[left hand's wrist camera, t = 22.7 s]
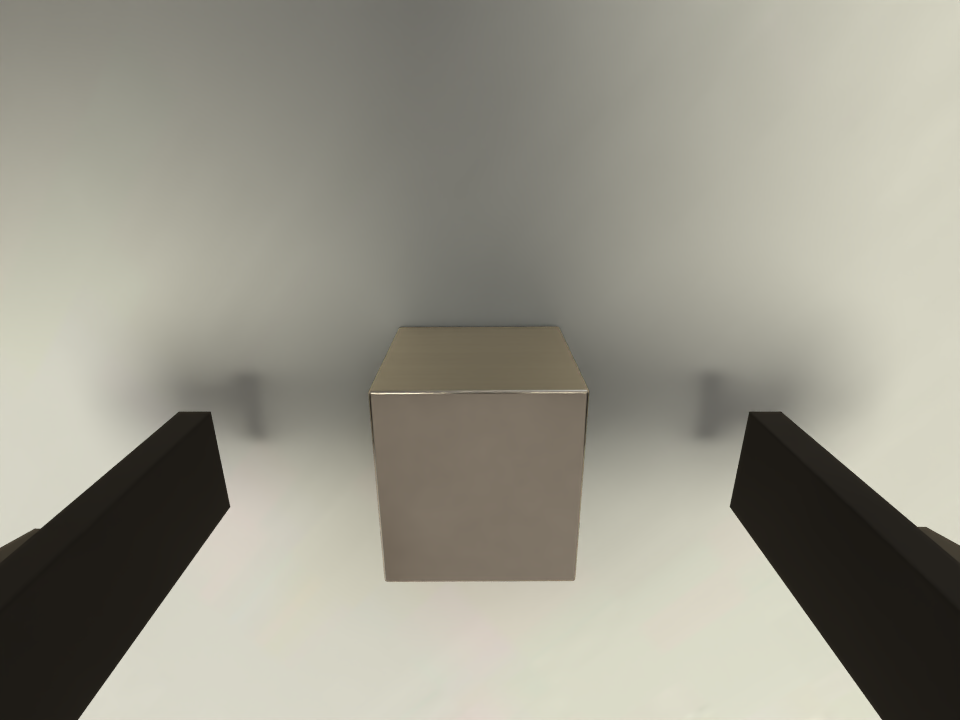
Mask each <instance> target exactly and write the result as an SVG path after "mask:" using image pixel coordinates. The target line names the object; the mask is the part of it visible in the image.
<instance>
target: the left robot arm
mask: <svg viewBox="0 0 960 720" xmlns="http://www.w3.org/2000/svg"><path fill="white" fill-rule="evenodd" d="M229 508H230V504H229V499H228V494H227V489H226V484H225V479H224V474H223V469H222V464H221V460H220V455H219V450H218V445H217V440H216V435H215V430H214V425H213V420H212V416H211V412H178V413H177V414H176V415H175V416H173V417H172V418H171V419H170V420H169V421H168V422H166V423H165V424H164V425H163V426H162V427H160V428H159V429H158V430H157V431H156V432H155V433H153V434H152V435H151V436H150V437H149V438H147V439H146V440H145V441H144V442H143V443H141V444H140V445H139V446H138V447H137V448H136V449H134V450H133V451H132V452H131V453H130V454H128V455H127V456H126V457H125V458H124V459H123V460H121V461H120V462H119V463H118V464H117V465H115V466H114V467H113V468H112V469H111V470H110V471H108V472H107V473H106V474H105V475H104V476H102V477H101V478H100V479H99V480H98V481H97V482H95V483H94V484H93V485H92V486H91V487H89V488H88V489H87V490H86V491H85V492H84V493H82V494H81V495H80V496H79V497H78V498H76V499H75V500H74V501H73V502H72V503H71V504H69V505H68V506H67V507H66V508H65V509H63V510H62V511H61V512H60V513H59V514H58V515H56V516H55V517H54V518H53V519H52V520H50V521H49V522H48V523H47V524H46V525H44V526H43V527H42V528H41V529H33V530H32V531H30V532H28V533H26V534H24V535H23V536H21V537H19V538H17V539H15V540H14V541H12V542H10V543H8V544H6V545H4V546H3V547H1V548H0V720H78V719H79V718H80V716H81V715H82V713H83V712H84V711H85V709H86V708H87V706H88V705H89V704H90V702H91V701H92V699H93V698H94V697H95V695H96V694H97V692H98V691H99V690H100V688H101V687H102V685H103V684H104V683H105V681H106V680H107V678H108V677H109V676H110V674H111V673H112V671H113V670H114V669H115V667H116V666H117V664H118V663H119V662H120V660H121V659H122V657H123V656H124V655H125V653H126V652H127V650H128V649H129V648H130V646H131V645H132V643H133V642H134V641H135V639H136V638H137V636H138V635H139V634H140V632H141V631H142V629H143V628H144V627H145V625H146V624H147V622H148V621H149V620H150V618H151V617H152V615H153V614H154V613H155V611H156V610H157V608H158V607H159V606H160V604H161V603H162V601H163V600H164V599H165V597H166V596H167V594H168V593H169V592H170V590H171V589H172V587H173V586H174V585H175V583H176V582H177V580H178V579H179V578H180V576H181V575H182V573H183V572H184V571H185V569H186V568H187V566H188V565H189V564H190V562H191V561H192V559H193V558H194V557H195V555H196V554H197V552H198V551H199V550H200V548H201V547H202V546H203V544H204V543H205V541H206V540H207V539H208V537H209V536H210V534H211V533H212V532H213V530H214V529H215V527H216V526H217V525H218V523H219V522H220V520H221V519H222V518H223V516H224V515H225V513H226V512H227V511H228V509H229ZM730 508H731V509H732V511H733V512H734V513H735V515H736V516H737V518H738V519H739V520H740V522H741V523H742V525H743V526H744V527H745V529H746V530H747V532H748V533H749V534H750V536H751V537H752V538H753V540H754V541H755V543H756V544H757V545H758V547H759V548H760V550H761V551H762V552H763V554H764V555H765V557H766V558H767V559H768V561H769V562H770V564H771V565H772V566H773V568H774V569H775V571H776V572H777V573H778V575H779V576H780V578H781V579H782V580H783V582H784V583H785V585H786V586H787V587H788V589H789V590H790V592H791V593H792V594H793V596H794V597H795V599H796V600H797V601H798V603H799V604H800V606H801V607H802V608H803V610H804V611H805V613H806V614H807V615H808V617H809V618H810V620H811V621H812V622H813V624H814V625H815V627H816V628H817V629H818V631H819V632H820V634H821V635H822V636H823V638H824V639H825V641H826V642H827V643H828V645H829V646H830V648H831V649H832V650H833V652H834V653H835V655H836V656H837V657H838V659H839V660H840V662H841V663H842V664H843V666H844V667H845V669H846V670H847V671H848V673H849V674H850V676H851V677H852V678H853V680H854V681H855V683H856V684H857V685H858V687H859V688H860V690H861V691H862V692H863V694H864V695H865V697H866V698H867V699H868V701H869V702H870V704H871V705H872V706H873V708H874V709H875V711H876V712H877V713H878V715H879V716H880V718H881V719H882V720H960V545H958V544H956V543H954V542H952V541H951V540H949V539H947V538H945V537H943V536H941V535H940V534H938V533H936V532H934V531H932V530H931V529H929V528H927V527H917V526H916V525H914V524H913V523H912V522H911V521H910V520H908V519H907V518H906V517H905V516H904V515H902V514H901V513H900V512H899V511H898V510H897V509H895V508H894V507H893V506H892V505H891V504H889V503H888V502H887V501H886V500H885V499H884V498H882V497H881V496H880V495H879V494H878V493H876V492H875V491H874V490H873V489H872V488H871V487H869V486H868V485H867V484H866V483H865V482H863V481H862V480H861V479H860V478H859V477H858V476H856V475H855V474H854V473H853V472H852V471H850V470H849V469H848V468H847V467H846V466H845V465H843V464H842V463H841V462H840V461H839V460H837V459H836V458H835V457H834V456H833V455H832V454H830V453H829V452H828V451H827V450H826V449H824V448H823V447H822V446H821V445H820V444H819V443H817V442H816V441H815V440H814V439H813V438H811V437H810V436H809V435H808V434H807V433H806V432H804V431H803V430H802V429H801V428H800V427H798V426H797V425H796V424H795V423H794V422H792V421H791V420H790V419H789V418H788V417H787V416H785V415H784V414H783V413H782V412H749V416H748V421H747V425H746V430H745V435H744V440H743V445H742V450H741V455H740V460H739V465H738V469H737V474H736V479H735V484H734V489H733V494H732V499H731V504H730Z"/></svg>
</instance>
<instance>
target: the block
mask: <svg viewBox="0 0 960 720" xmlns="http://www.w3.org/2000/svg"><path fill="white" fill-rule="evenodd" d="M368 396H369V408H370V419H371V430H372V442H373V453H374V464H375V476H376V487H377V499H378V510H379V521H380V533H381V544H382V556H383V567H384V578H385V581H387V582H430V581H574V580H575V575H576V562H577V548H578V535H579V522H580V509H581V496H582V482H583V469H584V456H585V443H586V429H587V416H588V403H589V390H588V388H587V385H586V383H585V381H584V379H583V377H582V375H581V373H580V371H579V369H578V366H577V364H576V362H575V360H574V358H573V356H572V354H571V352H570V350H569V347H568V345H567V343H566V341H565V339H564V337H563V335H562V333H561V330H560V328H559V327H400V328H399V329H398V331H397V333H396V335H395V338H394V340H393V342H392V344H391V346H390V348H389V350H388V352H387V354H386V356H385V358H384V360H383V363H382V365H381V367H380V369H379V371H378V373H377V375H376V377H375V379H374V381H373V383H372V385H371V388H370V390H369V392H368Z"/></svg>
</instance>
